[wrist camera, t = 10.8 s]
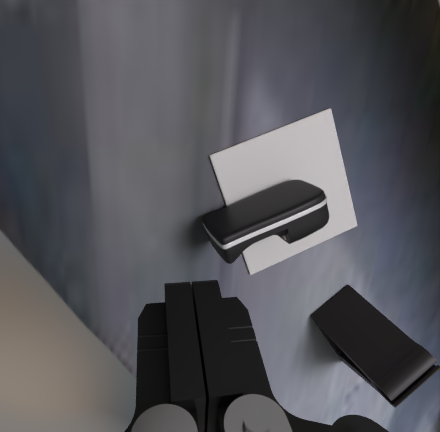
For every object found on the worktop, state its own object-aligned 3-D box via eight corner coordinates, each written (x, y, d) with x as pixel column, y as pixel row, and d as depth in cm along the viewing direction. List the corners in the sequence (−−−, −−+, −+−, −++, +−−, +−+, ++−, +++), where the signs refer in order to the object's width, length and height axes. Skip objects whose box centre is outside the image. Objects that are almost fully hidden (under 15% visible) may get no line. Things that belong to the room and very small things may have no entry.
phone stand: (376, 331, 51) (453, 391, 40) (341, 360, 51) (410, 429, 40) (347, 283, 48) (422, 334, 37) (309, 314, 48) (374, 375, 36)
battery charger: (231, 277, 35) (340, 227, 37) (219, 241, 34) (333, 191, 36) (209, 248, 42) (303, 206, 44) (198, 216, 40) (296, 175, 42)
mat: (209, 155, 39) (209, 155, 39) (329, 108, 42) (330, 108, 42) (249, 274, 44) (250, 275, 44) (355, 225, 46) (357, 225, 46)
